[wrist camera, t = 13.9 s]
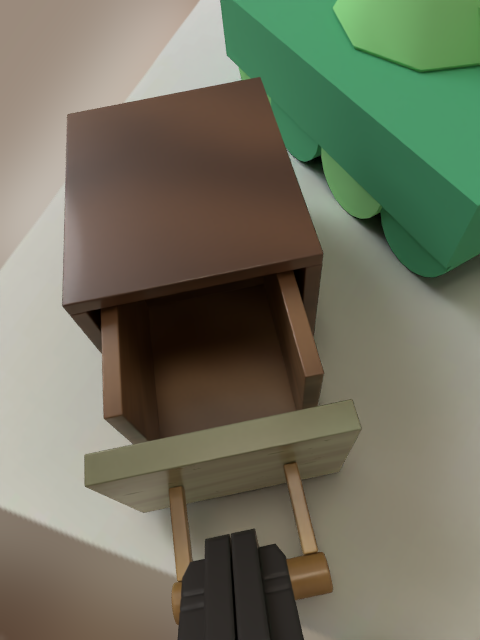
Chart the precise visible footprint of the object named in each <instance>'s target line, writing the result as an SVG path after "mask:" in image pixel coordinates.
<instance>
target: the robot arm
mask: <svg viewBox="0 0 480 640" xmlns="http://www.w3.org/2000/svg"><path fill="white" fill-rule="evenodd" d="M178 640H304V638H303V634H302V629H301V625H300V620H299V615H298V611H297V606H296V602H295V597H294V593H293V588H292V584H291V579H290V575H289V570H288V565H287V561H286V556H285V555H284V554H283V552H282V551H281V550H280V549H279V547H278V546H277V545H276V544H272V545H267V546H263V547H259V545H258V540H257V536H256V531H255V529H250V530H245V531H241V532H236V533H231V537H230V534H227V535H222V536H218V537H213V538H208V539H205V559H202V560H197V561H193V562H190V563H189V565H188V567H187V569H186V571H185V573H184V575H183V577H182V587H181V601H180V615H179V629H178Z"/></svg>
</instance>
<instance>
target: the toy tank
mask: <svg viewBox="0 0 480 640" xmlns="http://www.w3.org/2000/svg"><path fill="white" fill-rule="evenodd" d="M220 2H221V11H222V19H223V27H224V36H225V44H226V53H227V56H228V57H229V58H230V59H231V60H232V61H233V62H234V63H235V64H236V65H237V66H238V67H239V70H240V75H241V79H242V80H246V79H251V78H257V77H261V80H262V83H263V85H264V88H265V91H266V94H267V97H268V99H269V102H270V105H271V108H272V111H273V113H274V116H275V119H276V122H277V125H278V127H279V130H280V133H281V136H282V139H283V141H284V144H285V147H286V148H287V149H288V150H289V152H290V153H291V154H292V155H293V156H294V157H295V158H297V159H298V160H300V161H304V162H306V161H309V160H311V159H314V158H316V157H318V156H320V155H321V158H322V164H323V170H324V174H325V177H326V180H327V183H328V186H329V188H330V189H331V191H332V193H333V195H334V197H335V199H336V200H337V201H338V202H339V204H340V205H341V206H342V208H343V209H345V210H346V211H347V212H348V213H349V214H351V215H352V216H355V217H357V218H360V219H364V218H370V217H372V216H374V215H376V214H378V213H380V212H381V222H382V227H383V230H384V234H385V237H386V240H387V242H388V244H389V246H390V247H391V249H392V251H393V253H394V254H395V255H396V257H397V258H398V259H399V260H400V262H401V263H402V264H403V265H404V266H406V267H407V268H408V269H409V270H411V271H412V272H414V273H416V274H418V275H421V276H423V277H437V276H439V275H442V274H444V273H446V272H448V271H450V270H452V269H453V268H455V267H457V266H459V265H461V264H463V263H464V262H466V261H468V260H470V259H472V258H473V257H475V256H477V255H479V254H480V0H220Z"/></svg>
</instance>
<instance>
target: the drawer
mask: <svg viewBox="0 0 480 640" xmlns="http://www.w3.org/2000/svg"><path fill="white" fill-rule="evenodd" d="M101 337H102V375H103V412H104V419H105V420H106V421H107V422H108V423H109V424H110V425H112V426H113V427H114V428H115V429H116V430H117V431H118V432H120V433H121V434H122V435H123V436H124V437H125V438H127V439H128V440H129V441H130V442H131V443H132V444H133V445H128V446H124V447H119V448H114V449H109V450H104V451H99V452H95V453H90V454H86V455H85V456H84V459H85V487H87V488H89V489H91V490H94V491H96V492H98V493H100V494H103V495H105V496H107V497H109V498H111V499H114V500H116V501H118V502H120V503H123V504H125V505H127V506H129V507H131V508H134V509H136V510H138V511H140V512H143V513H145V512H150V511H155V510H160V509H164V508H169V507H170V511H171V521H172V532H173V542H174V553H175V563H176V574H177V581H178V582H176V583H174V584H173V587H172V609H173V615H174V619H175V622H176V624H177V625H179V615H180V601H181V587H182V577H183V575H184V573H185V571H186V569H187V567H188V565H189V563H190V562H193V559H192V550H191V542H190V533H189V524H188V515H187V506H186V504H188V503H193V502H198V501H203V500H207V499H212V498H217V497H222V496H226V495H231V494H236V493H241V492H245V491H250V490H255V489H260V488H265V487H269V486H274V485H279V484H284V483H287V487H288V491H289V495H290V500H291V504H292V509H293V513H294V517H295V522H296V526H297V531H298V535H299V540H300V544H301V548H302V553H303V556H298V557H294V558H289V559H286V561H287V565H288V570H289V575H290V579H291V584H292V588H293V593H294V597H295V600H299V599H304V598H308V597H313V596H318V595H322V594H327V593H331V592H333V585H332V580H331V575H330V571H329V567H328V563H327V560H326V557H325V554H324V553H323V552H318V547H317V543H316V539H315V535H314V531H313V527H312V523H311V519H310V514H309V510H308V506H307V502H306V498H305V494H304V490H303V486H302V482H301V480H303V479H307V478H312V477H317V476H322V475H327V474H331V473H336V472H339V471H340V469H341V468H342V466H343V464H344V462H345V460H346V458H347V456H348V454H349V452H350V450H351V448H352V446H353V444H354V443H355V441H356V439H357V437H358V435H359V433H360V431H361V429H362V427H361V424H360V421H359V418H358V415H357V412H356V409H355V406H354V403H353V400H351V399H350V400H346V401H341V402H336V403H331V404H326V405H322V406H318V402H319V397H320V391H321V386H322V381H323V376H324V371H323V367H322V364H321V361H320V358H319V354H318V351H317V348H316V344H315V341H314V338H313V335H312V331H311V328H310V325H309V321H308V318H307V315H306V312H305V308H304V305H303V302H302V298H301V295H300V292H299V289H298V285H297V282H296V279H295V275H294V272H293V270H290V271H285V272H280V273H275V274H270V275H265V276H260V277H255V278H250V279H245V280H240V281H235V282H230V283H225V284H220V285H215V286H210V287H205V288H200V289H195V290H190V291H185V292H181V293H176V294H171V295H166V296H161V297H156V298H151V299H146V300H141V301H136V302H131V303H126V304H121V305H116V306H111V307H106V308H101Z"/></svg>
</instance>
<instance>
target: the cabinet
mask: <svg viewBox="0 0 480 640" xmlns="http://www.w3.org/2000/svg"><path fill="white" fill-rule="evenodd" d="M322 261H323V251H322V248H321V245H320V242H319V239H318V237H317V234H316V231H315V228H314V225H313V223H312V220H311V217H310V214H309V211H308V209H307V206H306V203H305V200H304V197H303V195H302V192H301V189H300V186H299V183H298V181H297V178H296V175H295V172H294V169H293V167H292V164H291V161H290V158H289V155H288V153H287V150H286V147H285V144H284V141H283V139H282V136H281V133H280V130H279V127H278V125H277V122H276V119H275V116H274V113H273V111H272V108H271V105H270V102H269V99H268V97H267V94H266V91H265V88H264V85H263V83H262V80H261V77H257V78H251V79H246V80H241V81H236V82H231V83H226V84H221V85H215V86H210V87H205V88H200V89H195V90H190V91H185V92H179V93H174V94H169V95H164V96H159V97H154V98H148V99H143V100H138V101H133V102H128V103H123V104H118V105H113V106H107V107H102V108H97V109H92V110H87V111H82V112H77V113H71V114H68V115H67V143H66V181H65V220H64V259H63V298H62V306H63V308H64V309H65V310H66V311H67V312H68V314H70V316H71V317H72V318H73V320H74V321H75V322H76V323H77V324H78V326H79V327H80V328H81V329H82V330H83V332H84V333H85V334H86V335H87V337H88V338H89V339H90V340H91V341H92V343H93V344H94V345H95V346H96V348H97V349H98V350H99V351H100V352H101V354H102V337H101V308H106V307H111V306H116V305H121V304H126V303H131V302H136V301H141V300H146V299H151V298H156V297H161V296H166V295H171V294H176V293H181V292H185V291H190V290H195V289H200V288H205V287H210V286H215V285H220V284H225V283H230V282H235V281H240V280H245V279H250V278H255V277H260V276H265V275H270V274H275V273H280V272H285V271H290V270H293V272H294V275H295V279H296V282H297V285H298V289H299V292H300V295H301V298H302V302H303V305H304V308H305V312H306V315H307V318H308V321H309V325H310V328H311V331H312V335H313V337H314V329H315V320H316V312H317V304H318V295H319V287H320V279H321V270H322Z"/></svg>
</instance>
